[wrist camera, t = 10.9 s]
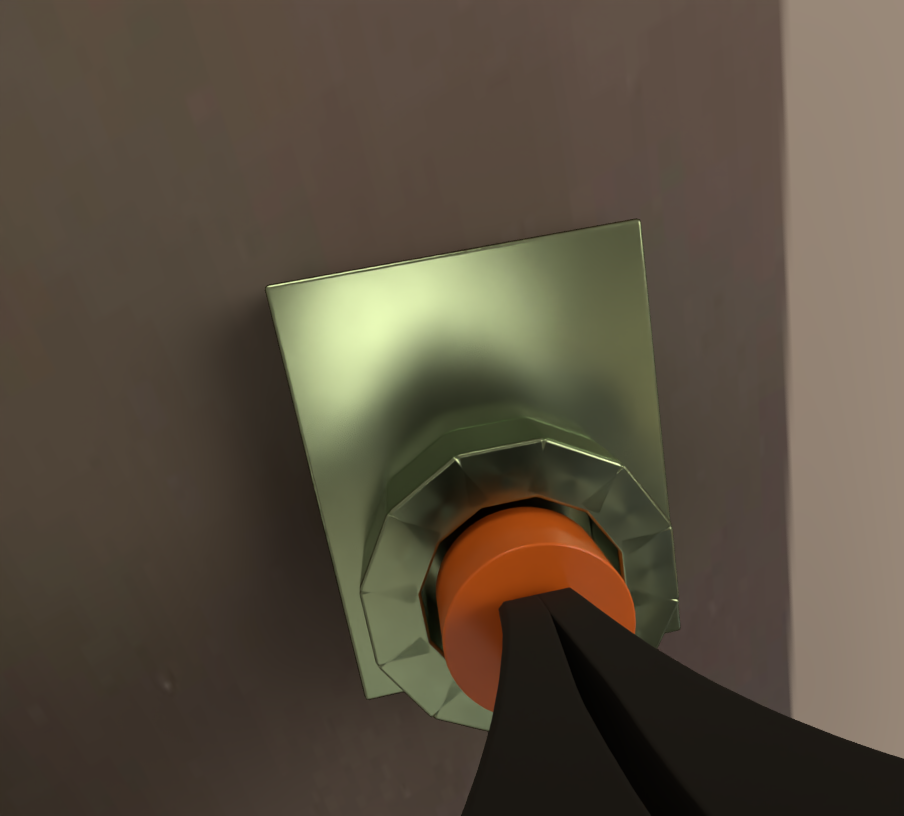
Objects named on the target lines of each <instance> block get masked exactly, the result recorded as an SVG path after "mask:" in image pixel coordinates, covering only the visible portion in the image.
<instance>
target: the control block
mask: <svg viewBox="0 0 904 816" xmlns="http://www.w3.org/2000/svg"><path fill="white" fill-rule="evenodd" d="M265 293H266V297H267V301H268V305H269V309H270V313H271V317H272V321H273V325H274V329H275V333H276V337H277V342H278V346H279V350H280V354H281V358H282V362H283V366H284V370H285V374H286V378H287V382H288V386H289V390H290V394H291V399H292V403H293V407H294V411H295V415H296V419H297V423H298V427H299V431H300V435H301V439H302V443H303V447H304V451H305V455H306V460H307V464H308V468H309V472H310V476H311V480H312V484H313V488H314V492H315V496H316V500H317V504H318V508H319V512H320V516H321V521H322V525H323V529H324V533H325V537H326V541H327V545H328V549H329V553H330V557H331V561H332V565H333V569H334V573H335V577H336V582H337V586H338V590H339V594H340V598H341V602H342V606H343V610H344V614H345V618H346V622H347V626H348V630H349V634H350V638H351V643H352V647H353V651H354V655H355V659H356V663H357V667H358V671H359V675H360V679H361V683H362V687H363V691H364V695H365V698H366V699H367V700H370V699H375V698H379V697H384V696H388V695H393V694H397V693H401V692H405V693H406V694H407V695H408V696H409V697H410V698H411V699H412V700H413V701H414V702H415V703H416V704H417V705H418V706H420V707H421V708H422V709H423V710H424V711H425V712H426V713H427V714H428V715H429V716H430V717H434V718H435V719H438V720H442V721H446V722H450V723H454V724H458V725H463V726H467V727H471V728H475V729H479V730H484V731H488V732H489V728H490V724H491V720H492V715H493V712H492V711H489V710H487V709H485V708H483V707H482V706H480V705H479V704H477V703H476V702H474V701H473V700H472V699H471V698H470V697H468V696H467V695H466V694H465V693H464V692H463V691H462V689H461V688H460V687H459V686H458V685H457V683H456V682H455V680H454V679H453V677H452V675H451V673H450V671H449V669H448V667H447V664H446V660H445V656H444V651H443V644H442V637H441V630H440V623H439V616H438V609H437V601H436V581H437V575H438V572H439V568H440V565H441V563H442V561H443V558H444V556H445V554H446V553H447V551H448V549H449V548H450V546H451V545H452V544H453V542H454V541H455V540H456V539H457V538H458V536H459V535H460V534H462V533H463V532H464V531H465V530H466V529H467V528H468V527H470V526H471V525H472V524H474V523H475V522H476V521H478V520H480V519H482V518H484V517H485V516H488V515H490V514H492V513H495V512H498V511H501V510H505V509H509V508H516V507H537V508H544V509H548V510H552V511H555V512H558V513H560V514H563V515H565V516H566V517H568V518H570V519H572V520H573V521H575V522H576V523H577V524H579V525H580V526H581V527H582V528H583V529H584V530H585V531H586V532H587V533H588V534H589V536H590V537H591V538H592V539H593V541H594V542H595V543H596V545H597V546H598V547H599V548H600V550H601V551H602V552H603V554H604V555H605V556H606V558H607V559H608V560H609V561H610V563H611V564H612V565H613V567H614V568H615V569H616V570H617V572H618V573H619V574H620V576H621V577H622V579H623V580H624V581H625V583H626V585H627V587H628V589H629V591H630V594H631V597H632V600H633V603H634V608H635V618H636V628H635V635H637V636H638V637H640V638H641V639H643V640H644V641H646V642H647V643H649V644H650V645H652V646H653V647H655V648H656V649H657V648H658V646H659V644H660V642H661V639H662V637H663V635H664V633H669V632H673V631H678V630H680V628H681V627H680V616H679V606H678V603H679V600H678V598H679V592H678V581H677V571H676V561H675V550H674V540H673V530H672V526H671V521H670V514H669V503H668V493H667V483H666V473H665V462H664V452H663V442H662V432H661V421H660V411H659V401H658V391H657V380H656V370H655V360H654V349H653V339H652V329H651V319H650V308H649V298H648V288H647V278H646V267H645V257H644V247H643V237H642V226H641V221H640V219H631V220H625V221H620V222H614V223H608V224H603V225H597V226H592V227H586V228H581V229H575V230H570V231H564V232H558V233H553V234H547V235H542V236H536V237H531V238H525V239H520V240H514V241H508V242H503V243H497V244H492V245H486V246H481V247H475V248H469V249H464V250H458V251H453V252H447V253H442V254H436V255H431V256H425V257H419V258H414V259H408V260H403V261H397V262H392V263H386V264H381V265H375V266H369V267H364V268H358V269H353V270H347V271H342V272H336V273H331V274H325V275H319V276H314V277H308V278H303V279H297V280H292V281H286V282H281V283H275V284H269V285H267V286H266V287H265Z"/></svg>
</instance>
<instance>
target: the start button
mask: <svg viewBox="0 0 904 816" xmlns="http://www.w3.org/2000/svg"><path fill="white" fill-rule="evenodd" d="M569 587H570V588H572V589H573V590H575V591H576V592H577V593H579V594H580V595H581V596H583V597H584V598H585V599H587V600H588V601H589V602H591V603H592V604H593V605H595V606H596V607H597V608H599V609H600V610H602V611H603V612H604V613H606V614H607V615H608V616H610V617H611V618H612V619H614V620H615V621H617V622H618V623H619V624H621V625H622V626H624V627H625V628H626V629H628V630H629V631H631V632H632V633H634V634H635V628H636V618H635V608H634V603H633V600H632V597H631V594H630V591H629V589H628V587H627V585H626V583H625V581H624V580H623V579H622V577H621V576H620V574H619V573H618V572H617V570H616V569H615V568H614V567H613V565H612V564H611V563H610V561H609V560H608V559H607V558H606V556H605V555H604V554H603V552H602V551H601V550H600V548H599V547H598V546H597V545H596V543H595V542H594V541H593V539H592V538H591V537H590V536H589V534H588V533H587V532H586V531H585V530H584V529H583V528H582V527H581V526H580V525H579V524H577V523H576V522H575V521H573V520H572V519H570V518H568V517H566V516H565V515H563V514H560V513H558V512H555V511H552V510H548V509H544V508H537V507H516V508H509V509H505V510H501V511H498V512H495V513H492V514H490V515H488V516H485V517H484V518H482V519H480V520H478V521H476V522H475V523H474V524H472V525H471V526H470V527H468V528H467V529H466V530H465V531H464V532H463V533H462V534H460V535H459V536H458V538H457V539H456V540H455V541H454V542H453V544H452V545H451V546H450V548H449V549H448V551H447V553H446V554H445V556H444V558H443V561H442V563H441V565H440V568H439V572H438V575H437V581H436V601H437V609H438V616H439V623H440V630H441V637H442V644H443V651H444V656H445V660H446V664H447V667H448V669H449V671H450V673H451V675H452V677H453V679H454V680H455V682H456V683H457V685H458V686H459V687H460V688H461V689H462V691H463V692H464V693H465V694H466V695H467V696H468V697H470V698H471V699H472V700H473V701H474V702H476V703H477V704H479V705H480V706H482V707H483V708H485V709H487V710H489V711H492V712H493V710H494V705H495V699H496V694H497V689H498V683H499V676H500V666H501V656H502V636H503V634H502V627H501V621H500V616H499V610H498V609H499V607H500V606H501V605H502V603H503V602H505V601H509V600H514V599H518V598H523V597H528V596H532V595H537V594H541V593H546V592H551V591H555V590H560V589H564V588H569Z"/></svg>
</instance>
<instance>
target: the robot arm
mask: <svg viewBox="0 0 904 816" xmlns="http://www.w3.org/2000/svg"><path fill="white" fill-rule="evenodd" d="M498 610H499V616H500V621H501V627H502V634H503V636H502V656H501V666H500V676H499V683H498V689H497V694H496V699H495V705H494V710H493V715H492V720H491V724H490V728H489V732H488V736H487V740H486V744H485V747H484V751H483V754H482V757H481V761H480V764H479V767H478V770H477V773H476V776H475V779H474V782H473V785H472V787H471V790H470V793H469V796H468V799H467V801H466V804H465V807H464V810H463V812H462V815H461V816H904V759H903V758H900V757H897V756H893V755H890V754H887V753H883V752H881V751H878V750H874V749H872V748H869V747H866V746H863V745H860V744H857V743H855V742H852V741H849V740H846V739H843V738H841V737H838V736H835V735H832V734H830V733H827V732H825V731H822V730H820V729H817V728H815V727H812V726H810V725H807V724H805V723H802V722H800V721H797V720H795V719H792V718H790V717H787V716H785V715H783V714H780V713H778V712H776V711H773V710H771V709H769V708H767V707H764V706H762V705H760V704H758V703H756V702H754V701H752V700H750V699H747V698H745V697H743V696H741V695H739V694H737V693H735V692H733V691H731V690H729V689H727V688H725V687H723V686H721V685H719V684H717V683H715V682H713V681H711V680H709V679H707V678H706V677H704V676H702V675H700V674H698V673H696V672H695V671H693V670H691V669H690V668H688V667H686V666H684V665H683V664H681V663H679V662H678V661H676V660H674V659H672V658H671V657H669V656H667V655H666V654H664V653H662V652H661V651H659V650H658V649H656V648H655V647H653V646H652V645H650V644H649V643H647V642H646V641H644V640H643V639H641V638H640V637H638V636H637V635H635V634H634V633H632V632H631V631H629V630H628V629H626V628H625V627H624V626H622V625H621V624H619V623H618V622H617V621H615V620H614V619H612V618H611V617H610V616H608V615H607V614H606V613H604V612H603V611H602V610H600V609H599V608H597V607H596V606H595V605H593V604H592V603H591V602H589V601H588V600H587V599H585V598H584V597H583V596H581V595H580V594H579V593H577V592H576V591H575V590H573V589H572V588H570V587H569V588H564V589H560V590H555V591H551V592H546V593H541V594H537V595H532V596H528V597H523V598H518V599H514V600H509V601H505V602H503V603H502V605H501V606H500V607H499V609H498Z"/></svg>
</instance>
